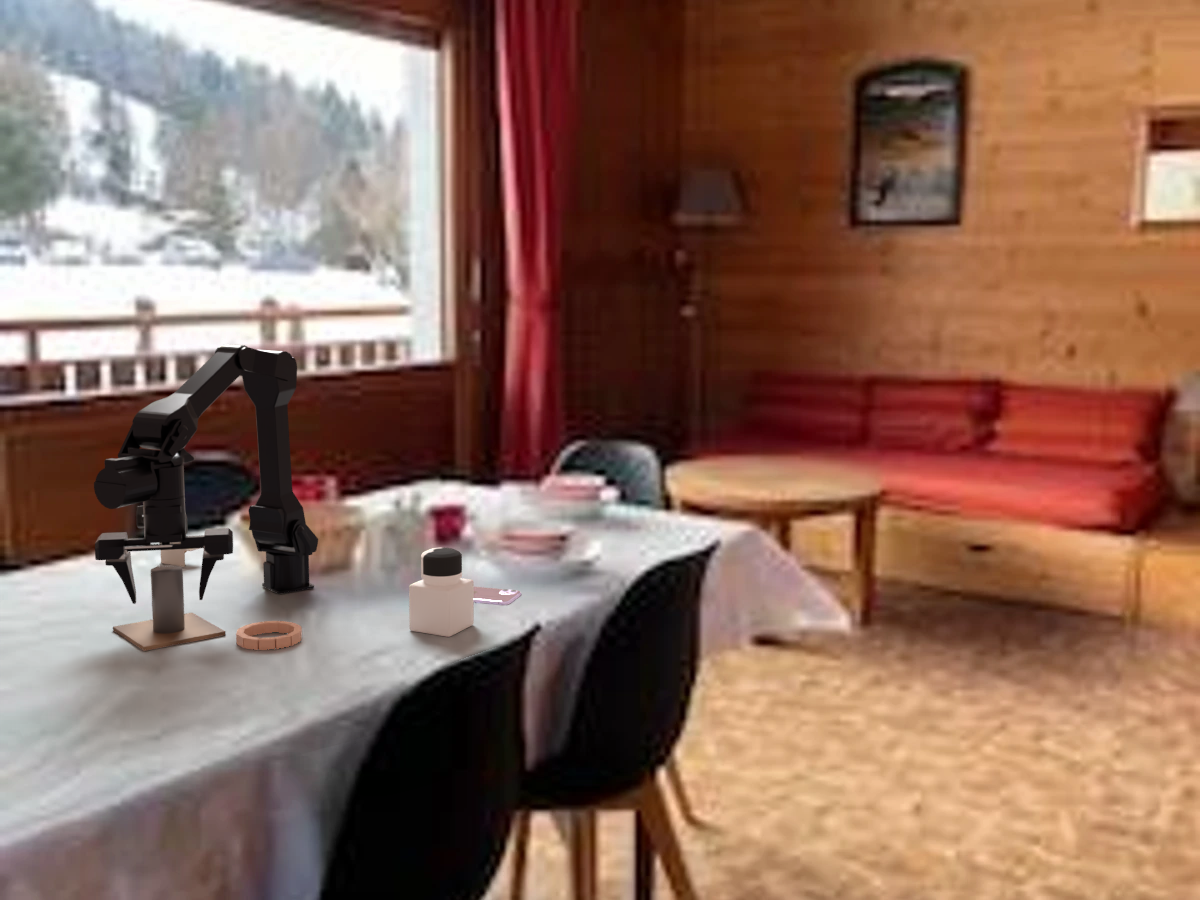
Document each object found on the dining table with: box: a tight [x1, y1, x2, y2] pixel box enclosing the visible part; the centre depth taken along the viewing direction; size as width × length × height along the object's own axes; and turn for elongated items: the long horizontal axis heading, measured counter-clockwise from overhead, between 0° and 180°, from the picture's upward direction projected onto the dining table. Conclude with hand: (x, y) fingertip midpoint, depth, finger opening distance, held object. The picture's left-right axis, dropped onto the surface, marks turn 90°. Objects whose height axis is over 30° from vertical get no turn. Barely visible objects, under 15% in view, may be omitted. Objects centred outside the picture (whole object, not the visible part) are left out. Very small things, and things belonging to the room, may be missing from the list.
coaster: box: [112, 612, 226, 652], centre depth 187 cm, size 12×12×1 cm
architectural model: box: [160, 542, 202, 568], centre depth 226 cm, size 3×7×7 cm, turn 63°
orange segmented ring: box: [235, 620, 303, 651], centre depth 184 cm, size 9×9×2 cm
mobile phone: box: [474, 586, 522, 606], centre depth 209 cm, size 8×1×15 cm
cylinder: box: [150, 564, 185, 634], centre depth 186 cm, size 4×4×9 cm
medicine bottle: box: [408, 547, 475, 638], centre depth 190 cm, size 7×7×12 cm
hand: (168, 601), depth 186 cm, fingers open, 9 cm apart
